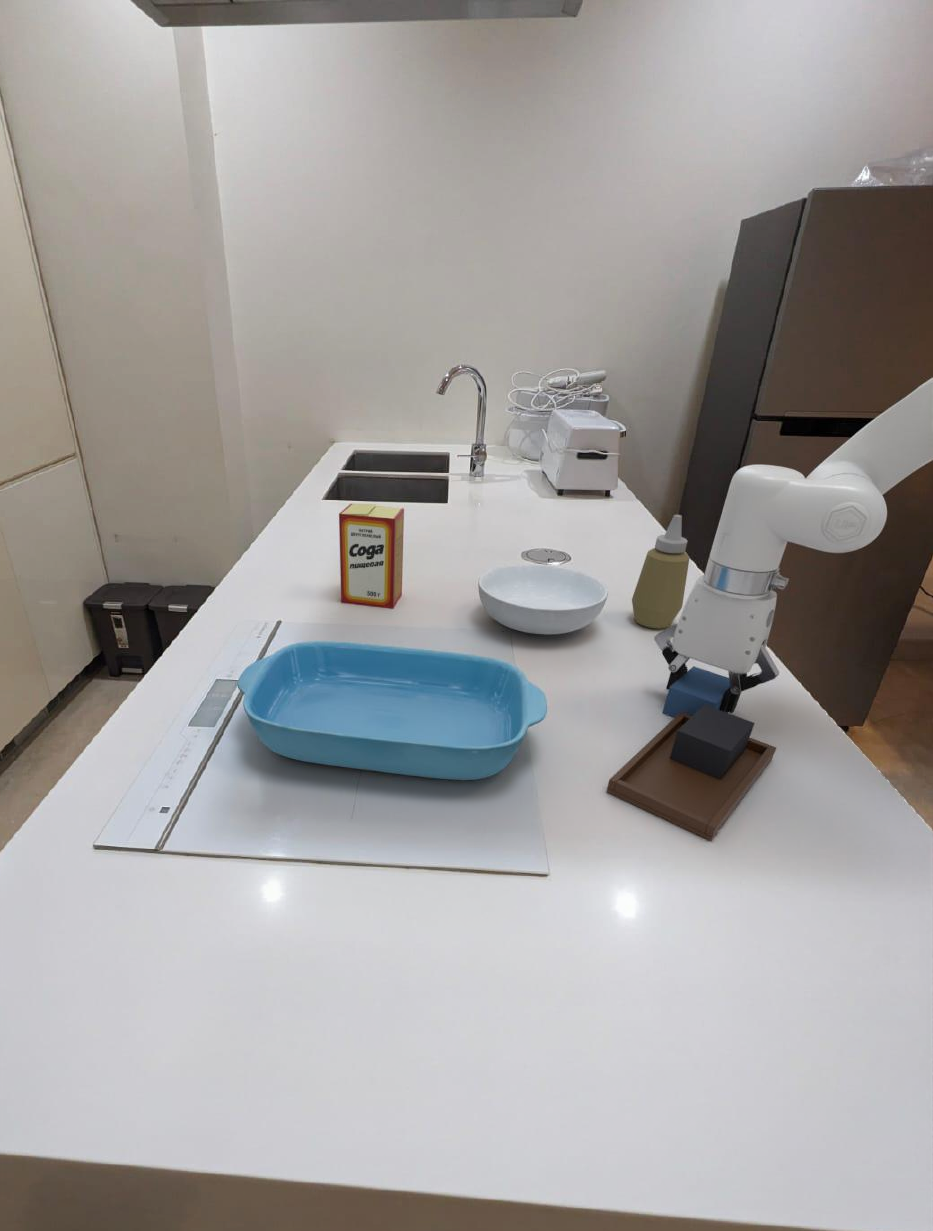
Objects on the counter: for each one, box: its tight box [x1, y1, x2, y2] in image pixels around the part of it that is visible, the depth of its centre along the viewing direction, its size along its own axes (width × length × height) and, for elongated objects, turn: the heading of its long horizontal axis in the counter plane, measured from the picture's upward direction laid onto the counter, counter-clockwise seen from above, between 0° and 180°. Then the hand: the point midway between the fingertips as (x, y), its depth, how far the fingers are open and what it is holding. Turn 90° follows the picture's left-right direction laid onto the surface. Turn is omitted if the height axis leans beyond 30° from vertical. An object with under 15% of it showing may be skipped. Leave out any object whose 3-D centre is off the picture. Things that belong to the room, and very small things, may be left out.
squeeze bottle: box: [631, 514, 691, 629], centre depth 109 cm, size 8×8×18 cm
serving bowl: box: [477, 563, 609, 635], centre depth 111 cm, size 21×21×7 cm
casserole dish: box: [237, 640, 548, 781], centre depth 82 cm, size 37×22×7 cm, turn 81°
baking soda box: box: [338, 503, 405, 609], centre depth 116 cm, size 10×6×16 cm
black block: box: [670, 705, 756, 780], centre depth 79 cm, size 6×8×4 cm
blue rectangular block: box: [662, 665, 730, 718], centre depth 89 cm, size 6×8×4 cm
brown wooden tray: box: [606, 712, 777, 842], centre depth 77 cm, size 12×20×2 cm, turn 138°
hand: (698, 704), depth 90 cm, fingers closed on blue rectangular block, 6 cm apart
